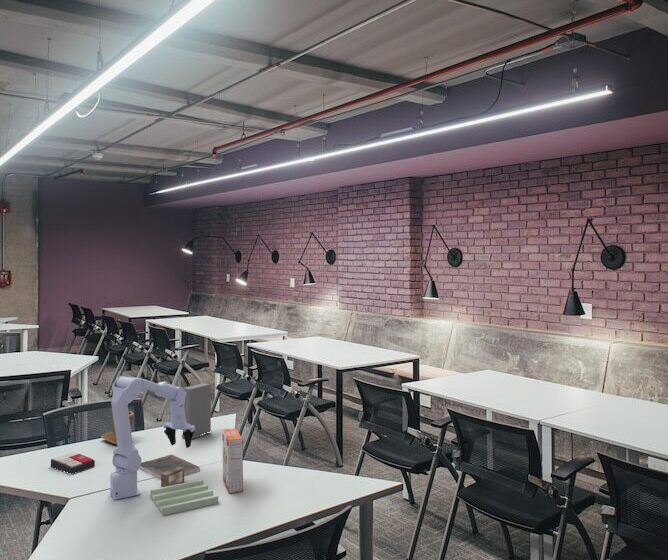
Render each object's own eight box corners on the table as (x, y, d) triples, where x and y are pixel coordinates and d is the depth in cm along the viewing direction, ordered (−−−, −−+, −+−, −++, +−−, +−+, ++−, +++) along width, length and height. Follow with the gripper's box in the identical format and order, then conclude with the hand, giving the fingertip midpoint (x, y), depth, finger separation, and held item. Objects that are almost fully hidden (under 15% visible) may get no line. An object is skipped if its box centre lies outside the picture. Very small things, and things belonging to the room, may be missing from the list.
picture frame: (137, 469, 245) (164, 483, 230) (137, 463, 245) (164, 477, 230) (172, 459, 257) (199, 472, 242) (172, 453, 257) (199, 466, 242)
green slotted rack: (163, 515, 201) (163, 508, 201) (150, 496, 217) (150, 489, 216) (218, 503, 211) (218, 496, 211) (202, 485, 227) (202, 479, 227)
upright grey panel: (202, 431, 296) (202, 382, 295) (211, 433, 292) (210, 384, 291) (181, 438, 285) (181, 387, 284) (189, 440, 281) (189, 389, 280)
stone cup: (138, 442, 278) (138, 411, 277) (114, 448, 269) (114, 416, 269) (123, 435, 288) (123, 405, 288) (100, 440, 280) (100, 410, 279)
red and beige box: (71, 466, 237) (50, 457, 245) (71, 476, 237) (50, 467, 245) (95, 458, 246) (74, 450, 254) (95, 468, 246) (74, 459, 254)
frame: (166, 490, 222) (166, 475, 222) (160, 488, 224) (160, 473, 224) (184, 483, 229) (184, 468, 229) (178, 481, 231) (178, 466, 231)
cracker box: (221, 480, 232) (221, 428, 231) (236, 478, 234) (236, 427, 233) (227, 494, 219) (227, 439, 218) (243, 491, 221) (243, 438, 220)
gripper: (198, 412, 241) (201, 443, 243) (169, 409, 246) (172, 439, 248) (187, 419, 234) (190, 450, 236) (159, 415, 240) (162, 446, 242)
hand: (180, 445), depth 242 cm, fingers open, 7 cm apart
